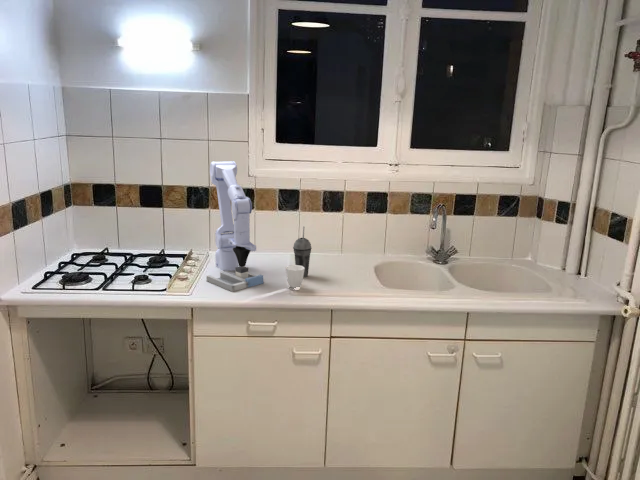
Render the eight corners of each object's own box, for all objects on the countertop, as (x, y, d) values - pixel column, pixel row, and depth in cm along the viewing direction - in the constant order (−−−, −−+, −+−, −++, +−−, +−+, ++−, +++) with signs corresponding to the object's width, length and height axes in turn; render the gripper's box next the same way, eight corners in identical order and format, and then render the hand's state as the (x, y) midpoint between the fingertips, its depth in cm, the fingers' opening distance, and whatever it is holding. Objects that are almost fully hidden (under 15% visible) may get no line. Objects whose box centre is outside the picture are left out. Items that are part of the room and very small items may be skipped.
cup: (284, 291, 194) (284, 270, 192) (286, 282, 203) (286, 262, 201) (304, 291, 194) (304, 270, 192) (305, 283, 203) (305, 262, 201)
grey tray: (205, 283, 200) (205, 273, 199) (238, 275, 210) (238, 265, 209) (231, 294, 189) (231, 283, 188) (264, 285, 199) (264, 275, 198)
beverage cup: (289, 277, 210) (290, 227, 205) (297, 272, 216) (298, 224, 211) (306, 279, 207) (307, 229, 202) (313, 274, 214) (314, 226, 209)
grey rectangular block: (235, 280, 202) (235, 267, 201) (242, 278, 204) (242, 265, 203) (241, 282, 199) (240, 269, 198) (248, 280, 202) (248, 267, 201)
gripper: (221, 228, 199) (222, 263, 203) (245, 236, 190) (245, 272, 193) (236, 226, 204) (237, 260, 208) (260, 233, 194) (260, 268, 198)
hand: (242, 265), depth 201 cm, fingers closed
